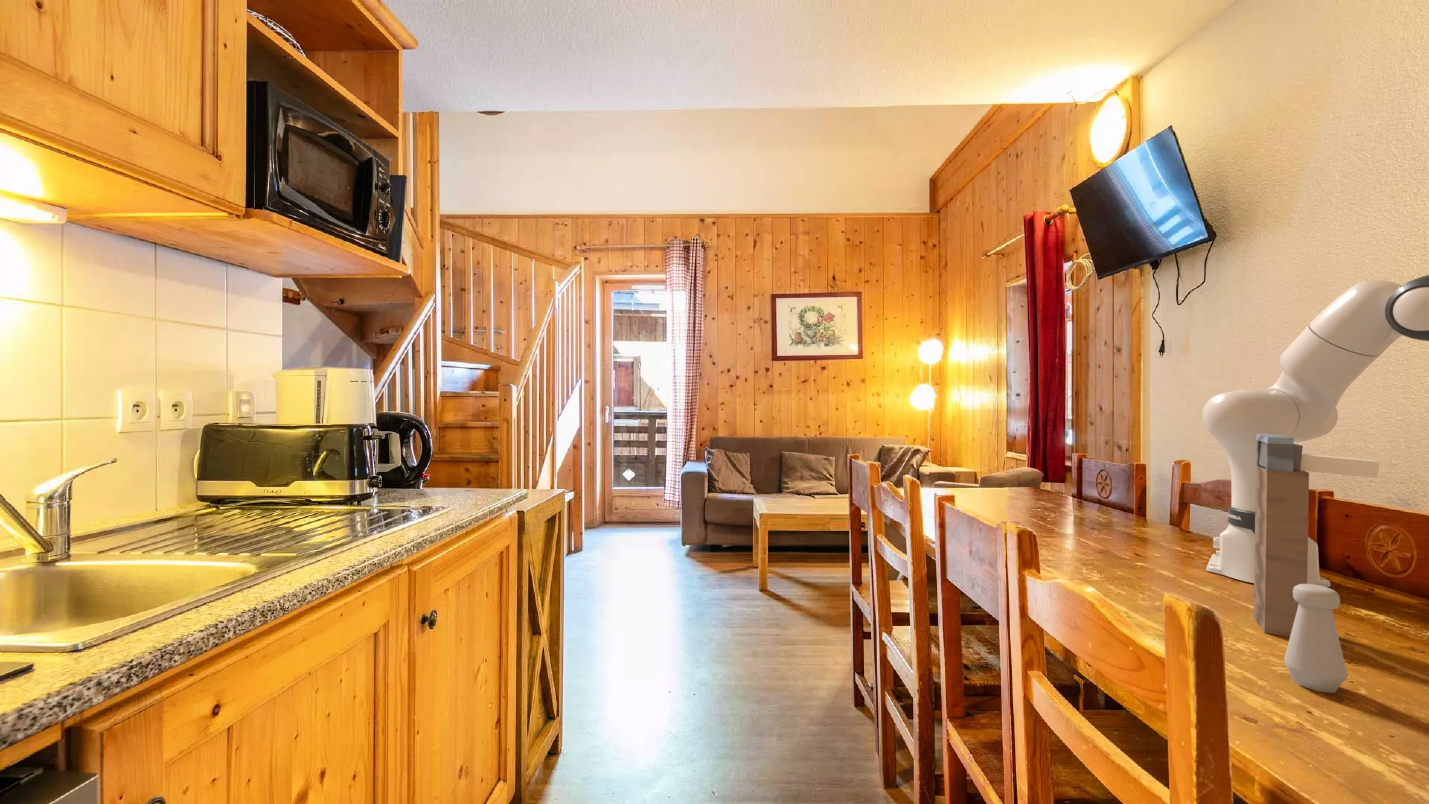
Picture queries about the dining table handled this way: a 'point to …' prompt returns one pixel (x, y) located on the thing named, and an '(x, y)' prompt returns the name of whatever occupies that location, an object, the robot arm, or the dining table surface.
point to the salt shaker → (1315, 640)
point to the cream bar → (1328, 463)
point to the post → (1279, 535)
